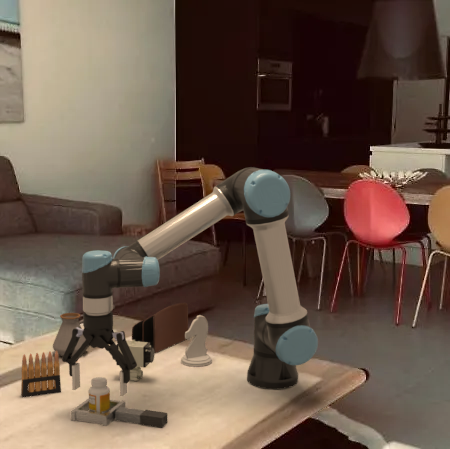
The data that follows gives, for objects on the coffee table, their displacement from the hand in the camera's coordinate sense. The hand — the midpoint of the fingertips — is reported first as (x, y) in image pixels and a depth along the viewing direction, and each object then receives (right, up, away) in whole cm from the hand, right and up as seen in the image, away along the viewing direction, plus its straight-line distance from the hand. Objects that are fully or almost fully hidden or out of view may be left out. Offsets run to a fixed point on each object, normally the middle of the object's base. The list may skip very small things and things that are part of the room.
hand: (99, 391), depth 195 cm
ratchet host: (+6, -7, -1) cm, 9 cm away
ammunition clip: (-19, -4, +15) cm, 25 cm away
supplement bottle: (0, -7, +1) cm, 7 cm away
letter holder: (+10, +2, +63) cm, 63 cm away
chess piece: (+23, -1, +44) cm, 50 cm away
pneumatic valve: (+5, -3, +28) cm, 29 cm away
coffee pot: (-14, +1, +53) cm, 55 cm away
